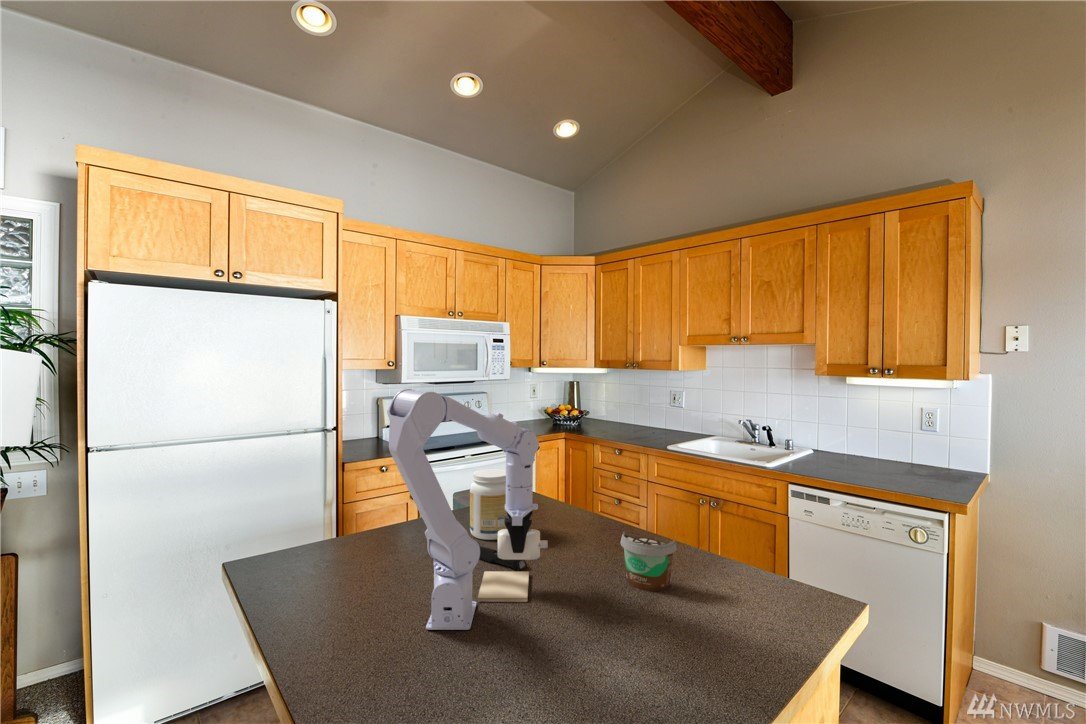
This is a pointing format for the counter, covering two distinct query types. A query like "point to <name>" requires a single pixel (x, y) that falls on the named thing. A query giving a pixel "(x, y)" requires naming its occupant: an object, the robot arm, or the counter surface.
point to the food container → (648, 562)
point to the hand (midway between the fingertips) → (518, 548)
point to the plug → (530, 547)
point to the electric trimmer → (492, 557)
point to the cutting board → (504, 586)
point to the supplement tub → (488, 503)
